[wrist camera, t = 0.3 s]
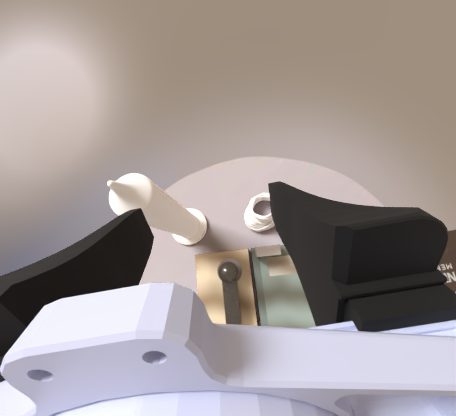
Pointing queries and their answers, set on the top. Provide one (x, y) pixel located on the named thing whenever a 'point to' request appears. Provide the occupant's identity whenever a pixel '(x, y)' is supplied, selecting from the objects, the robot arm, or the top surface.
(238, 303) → the bar
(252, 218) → the white curved piece
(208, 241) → the top surface
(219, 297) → the door and jamb
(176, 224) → the candle
